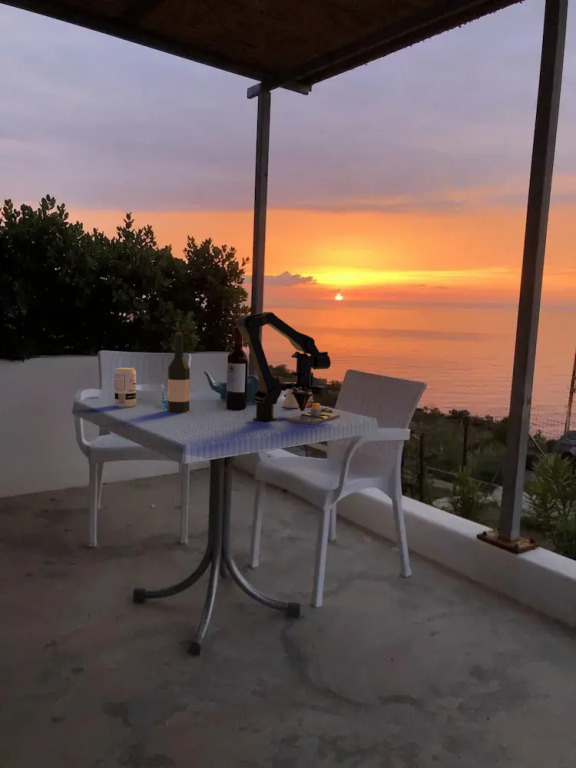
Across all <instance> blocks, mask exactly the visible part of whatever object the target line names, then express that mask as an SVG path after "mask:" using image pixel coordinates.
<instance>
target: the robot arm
mask: <svg viewBox="0 0 576 768" xmlns="http://www.w3.org/2000/svg"><path fill="white" fill-rule="evenodd" d="M235 325H236V328H237V329H238V332H239V333H240V334H241V336H242V337H243V338H244V339H245V341H246V343H247V346H248V349H249V352H250V356H251V358H252V361H253V365H254V367H255V370H256V373H257V376H258V380H257V387H258V390H257V391H256V392H255V393H254V395H252V398H253V401H254V402H256V405H255V410H256V411H255V412H256V413H255V417H253V418H252V420H255V421H261V422H271V421H274V420H277V417H275V416H274V406H275V405H277V404H278V403H277V402H278V400H279V398H280V396H281V394H282V392H283V391H284V392H285V391H286V392H287V391H288V389H292V392H291V394H293V395H294V397H295V399H296V401H297V403H298V405H299V407H298V408H299V410H300V412H305V410H306V406H307V404H308V402H309V400H310V398H311V397H312V396H313V395H315V396H323V395H327V394H329V388H328V386H326V385H319V383H320V379H318V378H317V377H314V372H312V369H313V370H314V371H315V370H329V368H330V367H331V363H332V362H331V358H330V356H329V352H328V351H320V350H319V349H318V347H317V346H316V342H315V339H314V338H313V337H311V336H310V335H307V334H304V333H302V332H299V331H297V330H296V329H295V328H294V327H292V326H290V325H289V324H288V323H286V322H285V321H284V320H282V319H281V318H279V317H278V316H276V315H275V313H274V312H272V311H264V312H261V313H255V314H240V315H239V316H238V317H237V318H236V321H235ZM266 325H267V326H269V327H271V328H272V329H273V330H274V331H276V332H278V333H279V334H280V335H282V336H283V337H285V338H286V339H287V340H288V342H289V343H290V344H291V345H292V347H294V349H295V350H296V351H295V352H294V353H293V354H292V355H291V358H293V359H296V365H295V372H294V373H293V375H294V376H295V382H291V381H284V382H280V378H279V377H278V376H274V375H273V374H272V373H271V372H272V371H271V369H270V366H269V363H268V360H267V357H266V355H265V351H264V348H263V344H262V342H261V340H260V333H261V331H260V330H261V328H262V327H264V326H266ZM300 352H301V353H300Z"/></svg>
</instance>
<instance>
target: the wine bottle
mask: <svg viewBox="0 0 576 768" xmlns="http://www.w3.org/2000/svg"><path fill="white" fill-rule="evenodd" d="M184 339H185V338H184V334H183V332H175V334H174V349H173V350H174V353H173V354H174V357H173V359H171V362H170V363H169V365H168V366H167V411H168V412H169V413H175V414H177V413H178V414H179V413H180V412H185V413H188V412H187V411H189V412H190V389H191V388H190V381H191V379H190V377H191V376H190V375H191V373H190V371H191V370H190V369H191V368H190V366H189V364H188V363H187V361H186V359H185V358H184ZM180 414H181V413H180Z"/></svg>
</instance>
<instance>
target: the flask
mask: <svg viewBox="0 0 576 768" xmlns="http://www.w3.org/2000/svg"><path fill="white" fill-rule="evenodd" d="M286 392H287V393H286V395H285V398H284V400H283V403H282V405H281V407H283V408H287V409H297V408H299V405H298V403H297V401H296V399H295V397H294V395H293V394H291V392H292V389H287V390H286Z"/></svg>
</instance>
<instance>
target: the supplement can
mask: <svg viewBox="0 0 576 768" xmlns="http://www.w3.org/2000/svg"><path fill="white" fill-rule="evenodd" d="M113 375H114V388H113V389H114V405H115V406H116V407H117V406H118V407H117V408H132V406H133V407H135V406H136V405H137V371H136V370H135V367H123V366H122V367H116V368H115V370H114V373H113ZM134 405H135V406H134Z"/></svg>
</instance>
